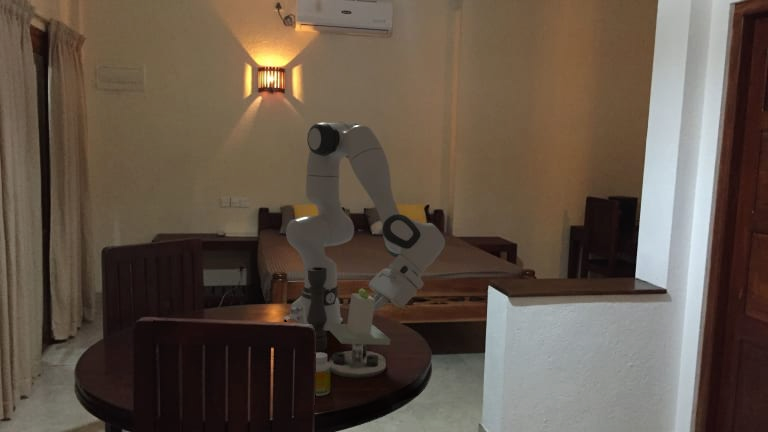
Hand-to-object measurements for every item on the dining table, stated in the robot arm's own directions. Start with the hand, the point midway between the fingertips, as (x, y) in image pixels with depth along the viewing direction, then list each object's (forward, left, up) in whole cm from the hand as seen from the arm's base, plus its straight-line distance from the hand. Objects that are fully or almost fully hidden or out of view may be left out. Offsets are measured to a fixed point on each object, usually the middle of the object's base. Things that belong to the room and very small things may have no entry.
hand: (372, 308), depth 159 cm
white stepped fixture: (-2, -4, -8) cm, 9 cm away
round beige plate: (-2, -4, -17) cm, 17 cm away
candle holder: (-22, -4, -17) cm, 28 cm away
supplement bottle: (+5, -22, -17) cm, 28 cm away
